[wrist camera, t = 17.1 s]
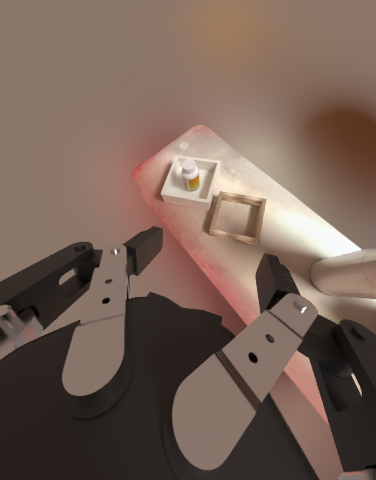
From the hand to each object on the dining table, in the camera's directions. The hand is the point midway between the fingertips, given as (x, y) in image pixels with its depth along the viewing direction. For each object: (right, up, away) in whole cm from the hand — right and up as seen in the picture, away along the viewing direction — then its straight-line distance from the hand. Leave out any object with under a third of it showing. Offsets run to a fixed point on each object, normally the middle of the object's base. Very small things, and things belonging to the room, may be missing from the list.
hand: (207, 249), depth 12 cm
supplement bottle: (0, +20, +40) cm, 45 cm away
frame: (+14, +7, +35) cm, 38 cm away
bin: (0, +20, +41) cm, 45 cm away
